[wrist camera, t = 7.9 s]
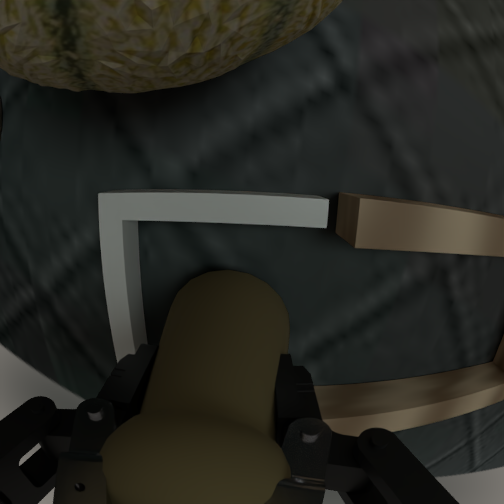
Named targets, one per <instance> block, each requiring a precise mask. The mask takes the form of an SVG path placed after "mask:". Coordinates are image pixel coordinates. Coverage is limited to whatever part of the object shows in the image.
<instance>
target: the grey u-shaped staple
mask: <svg viewBox="0 0 504 504" xmlns="http://www.w3.org/2000/svg"><path fill="white" fill-rule="evenodd" d="M98 207H99V230H100V245H101V258H102V268H103V278H104V286H105V294H106V301H107V308H108V315H109V321H110V327H111V333H112V338H113V344H114V349H115V354H116V358H117V363H118V362H119V360H120V359H122V358H123V357H125V356H126V355H128V354H134V355H135V353H136V351H137V349H138V348H139V346H140V345H141V344H148V343H147V335H146V327H145V318H144V309H143V299H142V288H141V275H140V259H139V239H138V220H142V221H182V222H212V223H237V224H260V225H280V226H298V227H316V228H327V219H328V208H329V200H328V199H326V198H323V197H321V196H316V195H303V194H288V193H271V192H251V191H226V190H182V189H135V190H113V191H107V192H102V193H98Z"/></svg>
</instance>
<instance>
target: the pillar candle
mask: <svg viewBox="0 0 504 504" xmlns="http://www.w3.org/2000/svg"><path fill="white" fill-rule="evenodd" d="M1 128H2V105H1V98H0V139H1Z"/></svg>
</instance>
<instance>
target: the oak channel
mask: <svg viewBox="0 0 504 504" xmlns="http://www.w3.org/2000/svg"><path fill="white" fill-rule="evenodd" d="M335 233H336V234H338V235H339V236H340V237H342V238H343V239H344V240H345V241H347V242H348V243H349V244H350V245H352V246H353V247H354V248H365V249H383V250H401V251H419V252H436V253H452V254H469V255H484V256H500V257H504V216H502V215H497V214H492V213H486V212H481V211H475V210H470V209H464V208H458V207H452V206H446V205H439V204H433V203H426V202H419V201H412V200H404V199H396V198H388V197H380V196H371V195H362V194H352V193H342V192H339V199H338V211H337V221H336V231H335ZM314 389H315V393H316V397H317V401H318V405H319V408H320V412H321V416H322V420H323V421H324V422H325V423H327V424H328V425H329V427H330V428H331V430H332V431H334V432H336V433H339V434H343V435H350V436H357V437H359V435H360V434H361V433H362V432H363V431H364V430H366V429H369V428H376V427H377V428H384V429H387V430H389V431H391V432H394V431H399V430H404V429H408V428H413V427H418V426H422V425H426V424H430V423H434V422H438V421H442V420H445V419H449V418H452V417H456V416H459V415H462V414H465V413H468V412H472V411H474V410H477V409H480V408H483V407H486V406H489V405H491V404H494V403H497V402H499V401H502V400H504V335H503V338H502V340H501V343H500V345H499V348H498V350H497V353H496V355H495V357H494V360H493V362H489V363H485V364H480V365H476V366H472V367H467V368H463V369H458V370H453V371H448V372H442V373H437V374H431V375H425V376H419V377H412V378H405V379H397V380H389V381H380V382H370V383H359V384H345V385H328V386H314Z"/></svg>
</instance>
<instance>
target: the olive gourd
mask: <svg viewBox="0 0 504 504" xmlns="http://www.w3.org/2000/svg"><path fill="white" fill-rule="evenodd" d="M289 335H290V325H289V313H288V311H287V309H286V307H285V305H284V303H283V301H282V299H281V297H280V296H279V295H278V294H277V293H276V292H275V291H274V290H273V289H272V288H271V287H270V286H269V285H268V284H267V283H266V282H264V281H262V280H260V279H258V278H256V277H254V276H252V275H251V274H248V273H243V272H238V271H232V270H222V271H212V272H207V273H205V274H203V275H200V276H198V277H196V278H194V279H191V280H190V281H189V282H188V283H187V284H186V285H185V286H184V287H183V288H182V289H181V290H179V291H178V293H177V295H176V297H175V299H174V301H173V303H172V305H171V307H170V310H169V314H168V317H167V320H166V323H165V326H164V330H163V333H162V336H161V339H160V343H159V348H158V351H157V354H156V357H155V360H154V363H153V367H152V370H151V373H150V377H149V381H148V384H147V388H146V391H145V395H144V399H143V403H142V406H141V410H140V414H138V415H135V416H134V417H132V418H131V419H129V420H128V421H126V422H125V423H123V424H122V425H120V426H119V427H118V428H117V429H116V430H115V431H114V432H113V433H112V434H111V435H110V436H109V437H108V438H107V440H106V441H105V443H104V445H103V447H102V449H101V451H100V453H99V454H100V455H101V456H102V458H103V472H104V475H105V477H106V480H107V488H108V493H109V496H110V499H111V502H112V504H264V503H265V502H266V501H267V500H268V499H270V498H271V496H272V494H273V492H274V490H275V487H276V485H277V483H278V482H279V481H281V480H282V479H284V478H290V477H291V471H290V466H289V464H288V462H287V460H286V458H285V455H284V453H283V451H282V449H281V448H280V446H279V445H278V444H277V443H276V441H277V439H276V396H275V381H276V376H277V370H278V365H279V359H280V354H288V345H289Z"/></svg>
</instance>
